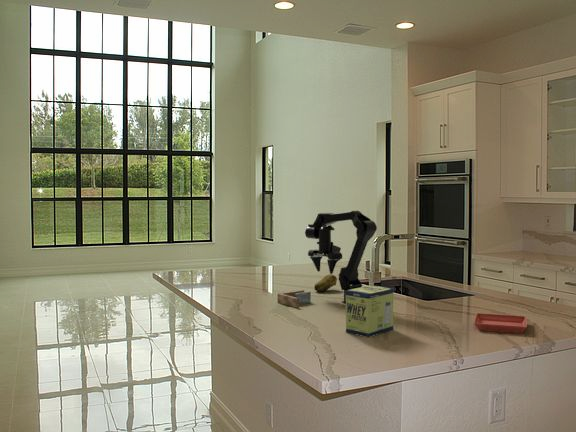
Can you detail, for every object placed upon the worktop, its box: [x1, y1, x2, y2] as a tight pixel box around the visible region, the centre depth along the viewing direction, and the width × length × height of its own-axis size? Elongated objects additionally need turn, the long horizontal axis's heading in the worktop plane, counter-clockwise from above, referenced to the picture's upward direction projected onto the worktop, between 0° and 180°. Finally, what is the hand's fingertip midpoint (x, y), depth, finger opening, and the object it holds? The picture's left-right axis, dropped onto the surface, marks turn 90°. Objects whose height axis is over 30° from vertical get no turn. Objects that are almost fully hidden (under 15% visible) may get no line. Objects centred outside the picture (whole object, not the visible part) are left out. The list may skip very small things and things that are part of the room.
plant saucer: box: [473, 312, 528, 334], centre depth 215 cm, size 18×18×3 cm
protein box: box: [345, 284, 394, 338], centre depth 211 cm, size 10×16×16 cm
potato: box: [313, 273, 338, 293], centre depth 291 cm, size 8×13×8 cm, turn 109°
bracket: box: [295, 291, 311, 305], centre depth 263 cm, size 8×6×5 cm
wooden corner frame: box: [277, 289, 305, 308], centre depth 262 cm, size 14×15×4 cm
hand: (324, 272), depth 272 cm, fingers open, 9 cm apart
